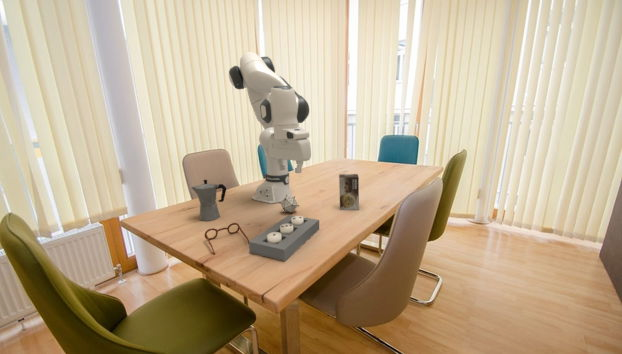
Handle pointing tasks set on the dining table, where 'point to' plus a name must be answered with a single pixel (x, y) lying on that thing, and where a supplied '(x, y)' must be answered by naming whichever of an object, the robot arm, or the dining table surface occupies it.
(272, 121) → the robot arm
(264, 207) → the dining table surface
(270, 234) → the button one
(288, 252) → the button panel
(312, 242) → the dining table surface
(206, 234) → the glasses
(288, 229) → the button three
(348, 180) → the coffee box
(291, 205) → the game die
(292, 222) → the button two
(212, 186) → the coffeepot
